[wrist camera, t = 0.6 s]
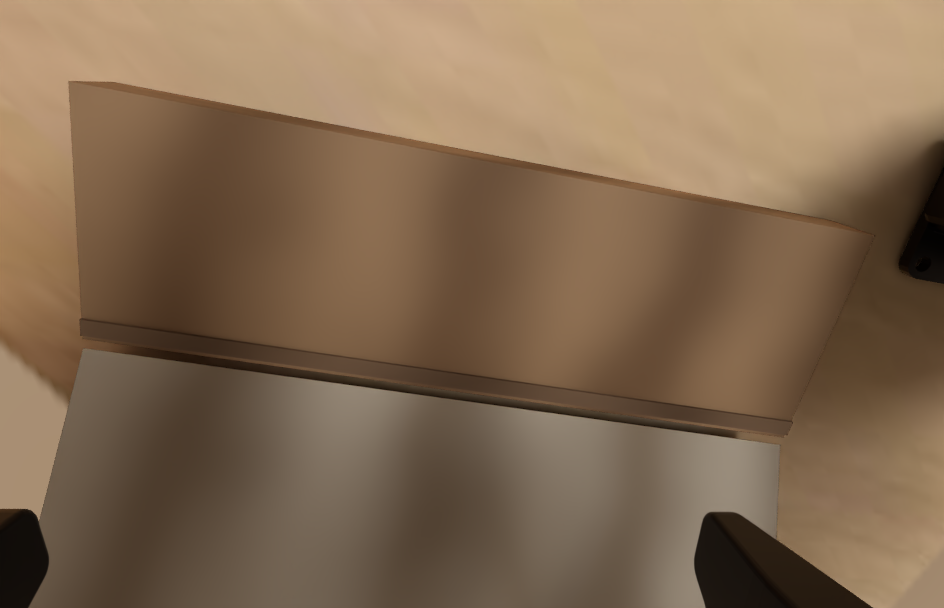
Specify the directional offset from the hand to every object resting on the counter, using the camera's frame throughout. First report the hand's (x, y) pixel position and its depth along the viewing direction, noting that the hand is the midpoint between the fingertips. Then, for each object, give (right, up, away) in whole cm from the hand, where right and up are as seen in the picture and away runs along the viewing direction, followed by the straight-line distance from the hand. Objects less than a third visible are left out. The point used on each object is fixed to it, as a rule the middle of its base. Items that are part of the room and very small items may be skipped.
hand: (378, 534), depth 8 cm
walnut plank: (+1, +4, +10) cm, 11 cm away
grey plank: (0, -4, +11) cm, 12 cm away
